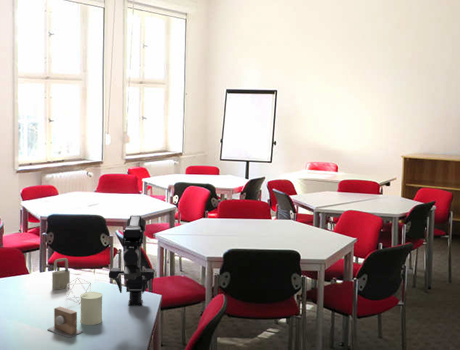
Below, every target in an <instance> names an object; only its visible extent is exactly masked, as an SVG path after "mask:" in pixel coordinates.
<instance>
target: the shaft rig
mask: <svg viewBox="0 0 460 350" xmlns="http://www.w3.org/2000/svg"><path fill="white" fill-rule="evenodd" d="M53 310H54V313H53V314H54V315H53V316H54V317H53V322H54V323H53V324H54V326H52V327H49V328H47V331H49V332H52V333H54V334H57V335H60V336H62V337H65V338H68V339H70V338H74V337H75V336H78V335H80V334H82V333H83V331H82V330H79V329H78V328H77V327H78V325H77V324H78V319H77V318H78V316H77V315H78V314H77V313H78V311H76V310H73V309H69V308H67V307H64V306H58V307H54V309H53Z"/></svg>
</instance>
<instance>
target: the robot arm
mask: <svg viewBox="0 0 460 350" xmlns="http://www.w3.org/2000/svg"><path fill="white" fill-rule="evenodd" d="M146 225H147V224H146V220H145V219H143V218H142V215H137V214H131V215H130V216H129V218H128V219H127V220H126V227H125V230H122V231H123V233H122V247H125V251H124V254H123V260H124V262H125V265H124V270H121V268H120V267H112V268H111V269H110V270H109V272H108V279H111V280H112V281H115V283H116V285H117V287H118V291H119V293H120V294H122V292H123V287H122V285H123V284H122V276H123V279H124V280H126V282H125V285H126V287H125V289H126V293H129V294H128V295H129V300H128V304H127V306H143V303H144V302H143V299H142V298H143V294H144V293H145V292H146V291H147V284H148V283H149V282H150V281H151V280H153V279H155V277H156V270H155V269H154V268H145V270H144V271H143V270H142V267H141V248H142V244H144V235H145V233H146V229H147V228H146Z"/></svg>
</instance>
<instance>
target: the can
mask: <svg viewBox="0 0 460 350" xmlns="http://www.w3.org/2000/svg"><path fill="white" fill-rule="evenodd" d="M85 292H86V291H85ZM85 292H83V293H81V295H80V301H81V303H80V323H81V324H83V325H85V326H94V325H98V324H100V323H102V322H103V293H101V292H99V291H87V292H86V293H85Z"/></svg>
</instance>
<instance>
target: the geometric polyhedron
mask: <svg viewBox="0 0 460 350" xmlns="http://www.w3.org/2000/svg"><path fill="white" fill-rule="evenodd" d="M74 281H75V282H74ZM77 281H78V283H77ZM81 281H84V282H81ZM72 282H74V283H73V284H72ZM76 284H77V285H81V286H82V288H83V289H84V291H85V292H84V293H86V292H88V290H91V286H92V282H90V281H88V280H85V279H82V278H80V277H76V278H75V279H73V280H72V281H70V284H69V283H68V284H67V285H72V287H71V288H70V287H69V286H68V287H67V288H69V290H70V291H69V292H68V293H67V295H66V299H67V300H69V301H72V302H73V303H75V304H79V305H81V300H80V302H79V300H78V299H77V298H80V296H76V295H75V294H74V292H73V291H72V290H73V288H74V286H75V285H76ZM83 284H84V285H86V284H89V285H88V287H87V288H85V286H84V285H83ZM70 293H71V294H72V295H73V296H74V297H71V298H69V295H70ZM74 298H75V300H76V301H74V300H72V299H74Z"/></svg>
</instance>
